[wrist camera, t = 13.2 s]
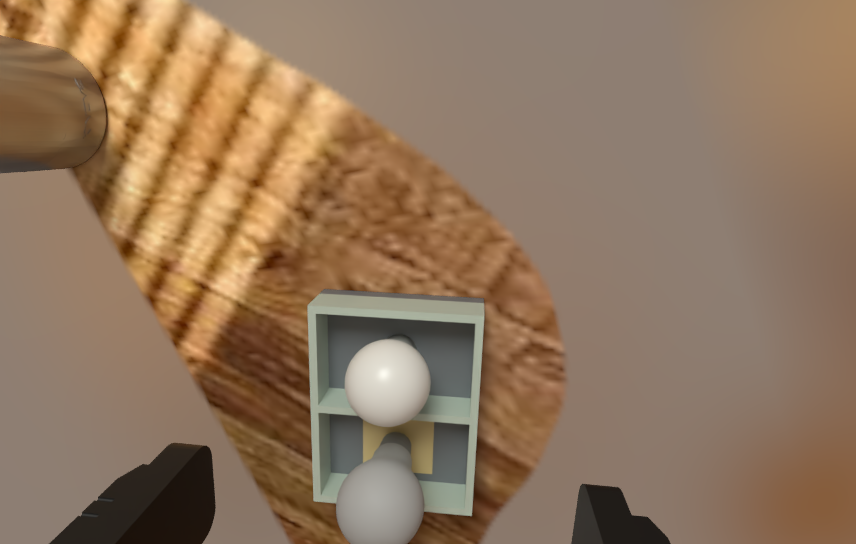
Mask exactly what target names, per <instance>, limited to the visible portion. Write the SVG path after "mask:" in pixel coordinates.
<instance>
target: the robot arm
mask: <svg viewBox="0 0 856 544" xmlns="http://www.w3.org/2000/svg"><path fill="white" fill-rule="evenodd" d="M105 127H106V109H105V105H104V100H103V96H102V94H101V92H100V89H99V87H98V84H97V83H96V81H95V80H94V78H93V76H92V75H91V73H90V72H89V71H88V70H87V69H86V68H85V67H84V65H83V64H82V63H81V62H80V61H78V60H77V59H76V58H74V57H73V56H72V55H70V54H69V53H67V52H64V51H62V50H60V49H58V48H54V47H50V46H46V45H42V44H37V43H32V42H28V41H23V40H18V39H14V38H9V37H5V36H1V35H0V173H10V172H27V171H40V170H52V169H65V168H70V167H75V166H77V165H80V164H82V163H84V162H85V161H87V160H88V159H89V158H90V157H91V156H93V155H94V153H95V152H96V150H97V149H98V148H99V146H100V144H101V142H102V139H103V137H104V133H105ZM214 514H215V493H214V479H213V465H212V454H211V450H210V448H209V447H207V446H202V445H192V444H182V443H171V444H170V445H168V446H167V447H166V448H165V449H164V450H163V451H162V452H161V453H160V454H159V455H158V456H157V457H156V458H155V459H154V460H153V461H152V462H151V463H150V464H149V465H145V464H142V465H141V466H139V467H137V468H135V469H134V470H132V471H130V472H128V473H127V474H125V475H123V476H121V477H120V478H118V479H117V480H115V482H113V483H112V484H111V485H110V486H109V487H108V488H107V489H106V490H105V491H104V492H103V493H102V494H101V495H100V496H99V497H98V500H97V501H94V502H93V503H91V504H90V505H89V506H88V507H87V508H86V509H85V510H84V511H83V512H82V515H81V516H78V517H77V518H76V519H75V520H74V521H73V522H71V523H70V524H69V525H68V526H67V527H66V528H65V529H64V530H63V531H62V532H61V533H60V534H59V535H58V536H57V537H56V538H55V539H54V540H53V541H52V542H51V543H50V544H202V543H203V541H204V540H205V538H206V537H207V535H208V533H209V531H210V529H211V526H212V523H213V519H214ZM572 544H670V541H669V540H668V538H667V537H666V536H665V534H664V533H663V532H662V531H661V530H660V529H658V527H657V526H656V525H655V524H654V523H653V522H652V521H651V520H650V519H649V518H648V517H643V516H632V515H631V513H630V510H629V508H628V505H627V503H626V500H625V498H624V495H623V493H622V491H621V489H620V488H618V487H610V486H599V485H589V484H582V485H581V486H580V490H579V495H578V501H577V509H576V515H575V523H574V529H573V536H572Z"/></svg>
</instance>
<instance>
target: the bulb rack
mask: <svg viewBox="0 0 856 544" xmlns="http://www.w3.org/2000/svg"><path fill="white" fill-rule="evenodd" d="M483 330H484V298H467V297H450V296H433V295H416V294H399V293H382V292H364V291H347V290H330V289H324V290H323V291H322V292H321V293H320V294H319V295H318V296H317V297H316V298H315V299H314V300H313V301H312V302H311V303H309V304H308V336H309V368H310V400H311V432H312V464H313V495H314V501H317V502H327V503H336V501H337V495H338V492H339V489H340V487H341V485H342V482H343V481H344V479H345V478H346V477H347V475H348V474H349V473H350V472H351V471H352V470H353V469H354V468H355V467H357V466H358V465H360V464H362V463H364V462H366V461H367V460H370V459H371V458H372V457H373V455H374V452H375V451H376V449H377V448H378V447H379V446H380V444H381V442H382V440H383V438H384V437H385V436H386V435H387V434H389V433H391V432H400V433H402V434H404V435H406V436H407V437H408V438H409V440H410V442H411V459H412V467H411V469H412V472H413V473H414V474H415V476H416V478H417V479H418V481H419V483H420V485H421V487H422V491H423V496H424V512H434V513H444V514H455V515H466V516H472V505H473V489H474V473H475V457H476V441H477V426H478V410H479V394H480V378H481V362H482V346H483Z"/></svg>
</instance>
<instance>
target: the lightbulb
mask: <svg viewBox="0 0 856 544" xmlns="http://www.w3.org/2000/svg"><path fill="white" fill-rule="evenodd" d="M411 467H412V459H411V442H410V440H409V438H408V437H407V436H406V435H404V434H402V433H400V432H391V433H389V434H387V435H386V436H385V437H384V438H383V440H382V442H381V444H380V446H379V447H378V448H377V449H376V451H375V452H374V455H373V457H372V458H371V459H370V460H367V461H366V462H364V463H362V464H360V465H358V466H357V467H355V468H354V469H353V470H352V471H351V472H350V473H349V474H348V475H347V477H346V478H345V479H344V481H343V482H342V485H341V487H340V489H339V492H338V495H337V501H336V515H337V521H338V524H339V527H340V529H341V531H342V533H343V535H344V536H345V538H346V539H347V540H348V541H349V542H350V543H351V544H407V543H409V541H410V540H411V539H412V538H413V537H414V535H415V534H416V532H417V530H418V528H419V526H420V524H421V522H422V519H423V514H424V496H423V491H422V487H421V485H420V483H419V481H418V479H417V478H416V476H415V474H414V473H413V472H412V469H411Z"/></svg>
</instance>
